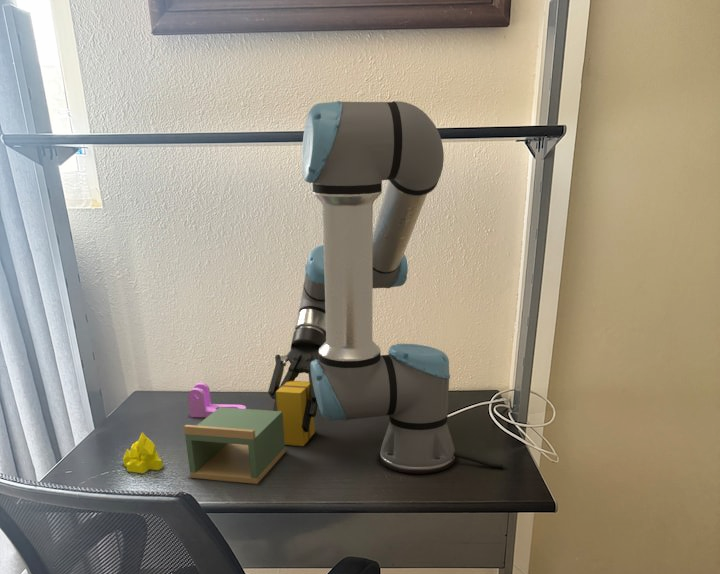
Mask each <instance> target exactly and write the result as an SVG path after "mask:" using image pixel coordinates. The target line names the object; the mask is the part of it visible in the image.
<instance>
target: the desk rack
mask: <svg viewBox="0 0 720 574" xmlns="http://www.w3.org/2000/svg"><path fill="white" fill-rule="evenodd" d="M183 430H184V436H185V445H186V453H187V459H188V460H187V461H188V466H189V467H188V469H189V475H190V479H201V480H212V481H221V482H232V483H242V484H243V483H244V484H252V485H253V484H254V485H258V484H259V483H260V482H261V481H262V479H263V478H264V477H265V476H266V475H267V474H268V473H269V471H270V470H271V469H272V468H273V467H274V466H275V465H276V464H277V462H278V461H279V460H280V459H281V458H282V456H283V455H285V453H286V445H285V442H284V427H283V413H282V411H273V410H266V409H255V408H253V409H251V408H246V409H239V408H225V407H220V408H218V409H217V410H216V411H214V412H213V413H212V414H211V415H209V416H208V417H204V419H203V420H201V421H200V422H199V423H198V424H185V425H184V426H183Z"/></svg>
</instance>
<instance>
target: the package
mask: <svg viewBox="0 0 720 574" xmlns="http://www.w3.org/2000/svg"><path fill="white" fill-rule="evenodd" d="M310 396H311V392H310V383H309V381H305V380H303V381H302V380H294V381H289V382H286V383H285V384H284V385H283V386H281V388H279V389H278V390H277V391H276V400H277V411H282V413H283V427H284V442H285V446H296V447H298V446H299V447H305V445H306V444H307V443H308V442H309V441H310V440H311V438H312V437H313V435H315V432H316V431H315V417H311V421H310V426H309V431H308V432H305V431H304V430H303V428H302V423H303V418H304V413H305V408H306V403H307V399H311V397H310Z"/></svg>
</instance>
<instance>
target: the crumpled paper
mask: <svg viewBox="0 0 720 574" xmlns="http://www.w3.org/2000/svg"><path fill="white" fill-rule="evenodd" d="M156 449H157V448H156V445H155V443H154V442H153V441H152V440H151V439H150V438H149V437H147V436H146V435H145V433H144V432H143V431H142V432H141V433H140V436H139V438H138V440H137V441H134V443H133V444H131V447H130V449H128V448H126V450H125V452H124V455H123V458H122V462H123V466H124V467H126V471H127V472H130V473H136V474H137V473H138V474H145V473H146V472H147V471H150V470H154V471H160V470H161V469H163V468H164V467H163V466H164V464H163V459H161V457H160V456H159V454H158V452H159V451H157V450H156Z"/></svg>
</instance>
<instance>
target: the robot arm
mask: <svg viewBox="0 0 720 574" xmlns="http://www.w3.org/2000/svg"><path fill="white" fill-rule="evenodd" d="M307 113H308V114H307V116H306V120H305V123H304V129H303V138H302V145H301V147H302V148H301V164H302V167H301V168H302V169H301V170H302V172H301V173H302V178H303V180H304V181H305V182H306V183H308V184H312V194H313V195H314V196H315V197H316V199H317V200H319V202H320V203H321V206H322V207H321V209H322V237H323V238H322V239H323V244H322V245H321V244H320V245H319V246H315V248H313V249H312V250H311V251H310V253H309V255H308V257H307V261H306V264H305V273H304V280H303V284H302V285H303V286H302V293H301V299H300V304H299V308H298V312H297V317H296V321H295V326H294V332H293V334H292V339H291V344H290V348H289V351H288V352H287V354H285V355H280V354H276V355H275V356H274V359H275V361H274V362H275V365H274V369H273V373H272V376H271V380H270V382H269V383H270V384H269V387H268V390H267V393H268V395H269V397H270V398H271V399H272V400H274V403H273V406H272V411H277V400H276V391H277V390H278V389H279V388H281V386H283V385H284V384H285V383H286V382H289V381H296V378H298V377H299V375H300V374H308V382H309V383H310V392H311V396H310V397H311V399H307V403H306V408H305V413H304V418H303V423H302V428H303V430H304V431H305V432H308V431H309V426H310V421H311V417H314V418H315V417H316V416H317V413H318V412H317V410H319V412H320V414H321V416H322V418H324V419H325V420H327V421H348V420H356V419H366V418H375V417H376V418H377V417H386V416H389V417H388V420H389V421H388V422H389V423H388V426H387V429H386V432H385V435H384V437H383V441H382V444H381V447H380V452H379V454H380V456H379V457H380V463H381V464H382V465H383V466H385V467H386V468H388V469H389V470H393V471H395V472H399V473H405V474H410V475H411V474H412V475H413V474H414V475H425V474H434V473H438V472H443V471H445V470H447V469H449V468H451V467H452V466H453V465H454V464H455V462H456V458H459V459H463V460H467V461H470V462H473V463H476V464H480V465H483V466H486V467H490V468H495V469H496V468H497V469H504V463H500V462H492V461H489V460H485V459H482V458H479V457H475V456H472V455H469V454H465V453H460V452H457V451H456V449H455V445H454V441H453V438H452V435H451V432H450V429H449V425H448V414H449V392H450V391H449V389H450V379H451V374H450V360H449V357H448V355H447V354H446V353H445V352H444V351H443V350H440V349H438V348H436V347H432V346H428V345H423V344H417V343H396V344H392V345H390V347H389V349H388V351H387V353H388V354H381V351H382V350H381V347H380V346H379V345H378V344H377V343H376V342H374V340H373V322H374V321H373V312H374V311H373V308H374V307H373V304H374V303H373V298H374V297H373V293H374V292H373V289H391V288H396V287H397V288H398V287H402V286H403V285H405V284H406V283H407V280H408V272H409V268H408V267H409V266H408V259H407V256H406V255H405V252H406V249H407V247H408V244H409V241H410V239H411V237H412V235H413V233H414V232H413V231H414V229H415V227H416V224H417V221H418V219H419V216H420V213H421V211H422V209H423V206H424V203H425V201H426V198H427V195H429V194H431V193H432V192H433V191H434V190H435V189H436V187H437V185H438V183H439V181H440V179H441V175H442V172H443V168H444V158H445V151H444V146H443V140H442V138H441V135H440V131H438V128H437V126H436V125H435V123H434V121H433V120H432V119H431V118H430V116H428V115H427V113H426V112H425V111H424V110H422V109H421V108H419V107H418V106H416V105H415V104H412V103H409V102H405V101H399V100H398V101H395V100H394V101H340V100H337V101H328V102H320V103H316V104H314V105H313V106H312V107H311V108H310V109H309V111H308V112H307ZM383 181H387V183H386V186H385V189H384V193H383V192H382V191H383ZM382 193H383V197H382V200H381V204H380V207H379V210H378V214H377V217H376V220H375V224H374V222H373V219H374V218H373V216H374V214H373V211H374V209H373V208H374V203H375V201H376V200H377V199H378V198H379V197H380V196H381V194H382ZM373 224H374V227H373ZM287 362H289V366H288V369H287V372H286V374H285V375H284V378H283V374H284V370H285V367H286V366H287Z"/></svg>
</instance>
